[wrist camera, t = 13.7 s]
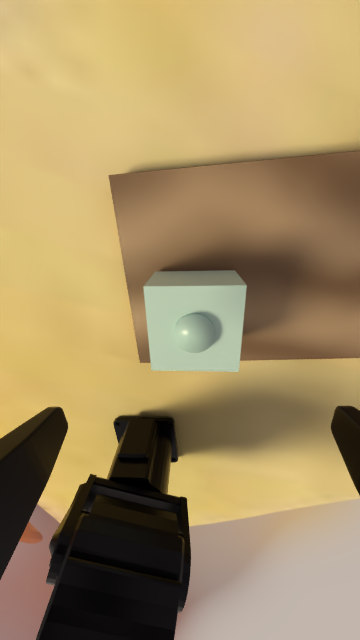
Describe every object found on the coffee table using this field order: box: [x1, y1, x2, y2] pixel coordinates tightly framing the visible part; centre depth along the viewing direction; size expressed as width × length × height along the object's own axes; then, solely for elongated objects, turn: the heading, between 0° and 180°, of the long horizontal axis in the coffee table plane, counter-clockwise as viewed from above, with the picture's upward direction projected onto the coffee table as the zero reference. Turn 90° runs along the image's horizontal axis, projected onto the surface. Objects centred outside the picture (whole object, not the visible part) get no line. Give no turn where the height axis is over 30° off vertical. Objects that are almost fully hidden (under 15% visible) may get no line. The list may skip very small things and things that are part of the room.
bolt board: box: [109, 151, 360, 363], centre depth 15 cm, size 14×18×4 cm
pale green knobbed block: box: [143, 270, 247, 372], centre depth 15 cm, size 6×6×4 cm
